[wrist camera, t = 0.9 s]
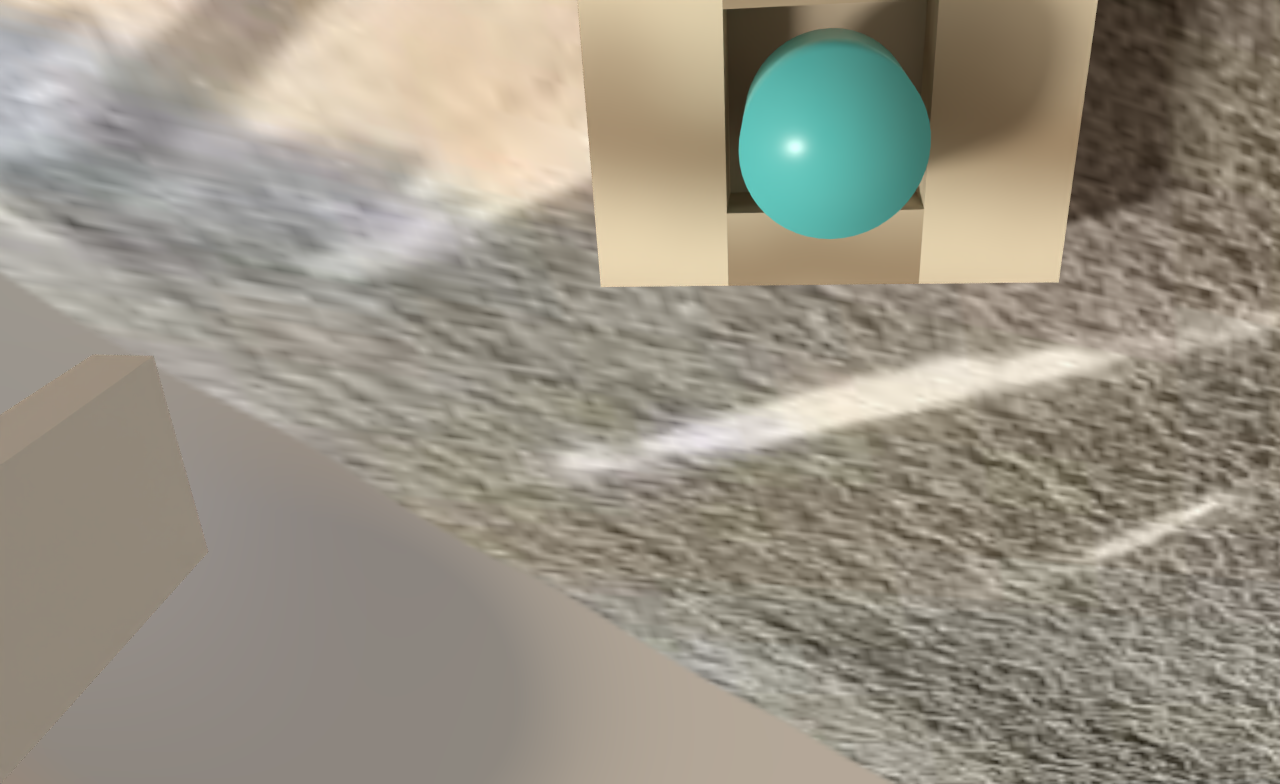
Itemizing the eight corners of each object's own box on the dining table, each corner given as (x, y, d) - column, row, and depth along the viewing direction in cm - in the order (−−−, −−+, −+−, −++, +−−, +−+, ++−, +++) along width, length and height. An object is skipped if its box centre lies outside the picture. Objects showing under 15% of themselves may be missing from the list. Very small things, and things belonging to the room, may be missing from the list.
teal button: (743, 32, 23) (737, 53, 20) (916, 23, 23) (938, 44, 20) (745, 197, 25) (740, 240, 22) (906, 193, 24) (924, 237, 21)
